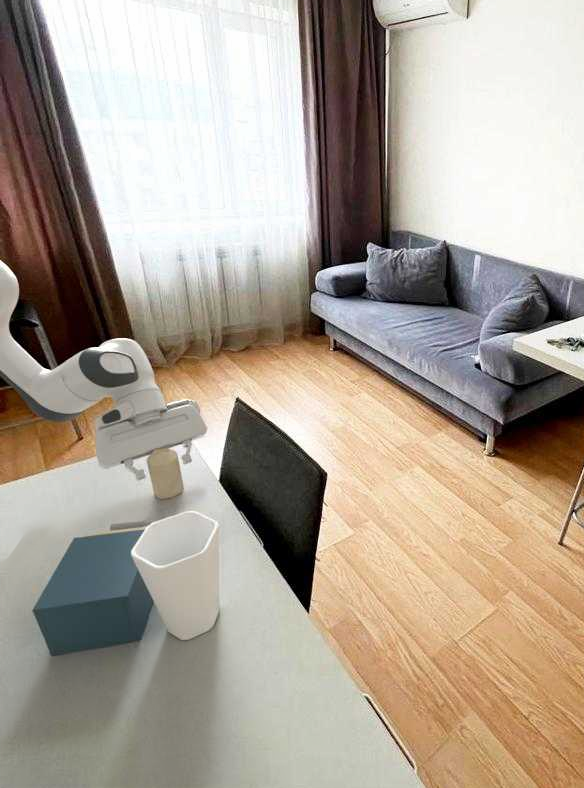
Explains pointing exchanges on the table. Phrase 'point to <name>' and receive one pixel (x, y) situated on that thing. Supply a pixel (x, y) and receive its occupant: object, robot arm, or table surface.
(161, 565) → the cup
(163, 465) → the candle
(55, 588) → the blue-grey box
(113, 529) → the tray
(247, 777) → the table surface
